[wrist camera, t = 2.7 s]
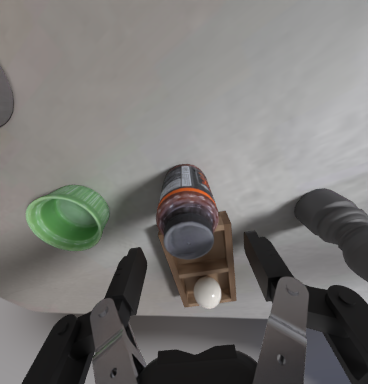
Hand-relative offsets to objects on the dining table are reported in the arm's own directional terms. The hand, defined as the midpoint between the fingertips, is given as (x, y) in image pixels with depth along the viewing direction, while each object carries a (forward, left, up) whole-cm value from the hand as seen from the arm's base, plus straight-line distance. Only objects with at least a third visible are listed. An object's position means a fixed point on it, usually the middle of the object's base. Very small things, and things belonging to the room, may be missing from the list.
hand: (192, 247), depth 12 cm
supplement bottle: (0, 0, -12) cm, 12 cm away
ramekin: (-16, -1, -12) cm, 20 cm away
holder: (0, -16, -11) cm, 19 cm away
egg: (0, -21, -10) cm, 23 cm away
